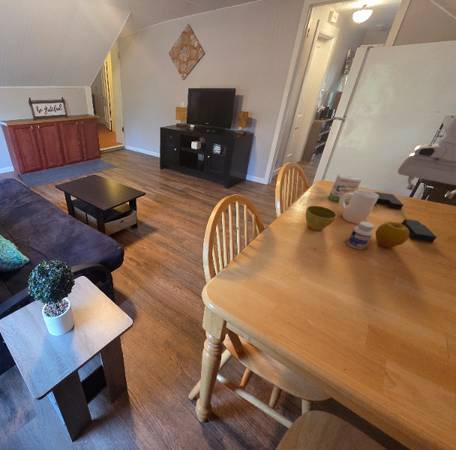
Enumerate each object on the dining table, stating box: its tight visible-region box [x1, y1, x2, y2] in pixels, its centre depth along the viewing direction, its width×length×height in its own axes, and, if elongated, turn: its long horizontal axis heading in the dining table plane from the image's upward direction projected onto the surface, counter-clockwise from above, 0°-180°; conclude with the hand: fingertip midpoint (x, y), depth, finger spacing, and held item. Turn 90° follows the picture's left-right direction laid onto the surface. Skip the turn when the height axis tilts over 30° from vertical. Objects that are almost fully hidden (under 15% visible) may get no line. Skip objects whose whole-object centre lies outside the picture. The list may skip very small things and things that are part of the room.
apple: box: [375, 221, 410, 248], centre depth 86 cm, size 8×8×9 cm
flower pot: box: [305, 205, 338, 231], centre depth 96 cm, size 10×10×7 cm
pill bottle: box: [347, 221, 375, 250], centre depth 86 cm, size 5×5×9 cm
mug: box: [338, 188, 379, 225], centre depth 102 cm, size 8×12×12 cm
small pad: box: [401, 218, 437, 243], centre depth 95 cm, size 6×12×2 cm, turn 159°
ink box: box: [328, 173, 362, 204], centre depth 116 cm, size 8×5×12 cm, turn 66°
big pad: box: [373, 191, 404, 210], centre depth 118 cm, size 14×12×2 cm
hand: (427, 193), depth 83 cm, fingers open, 8 cm apart
